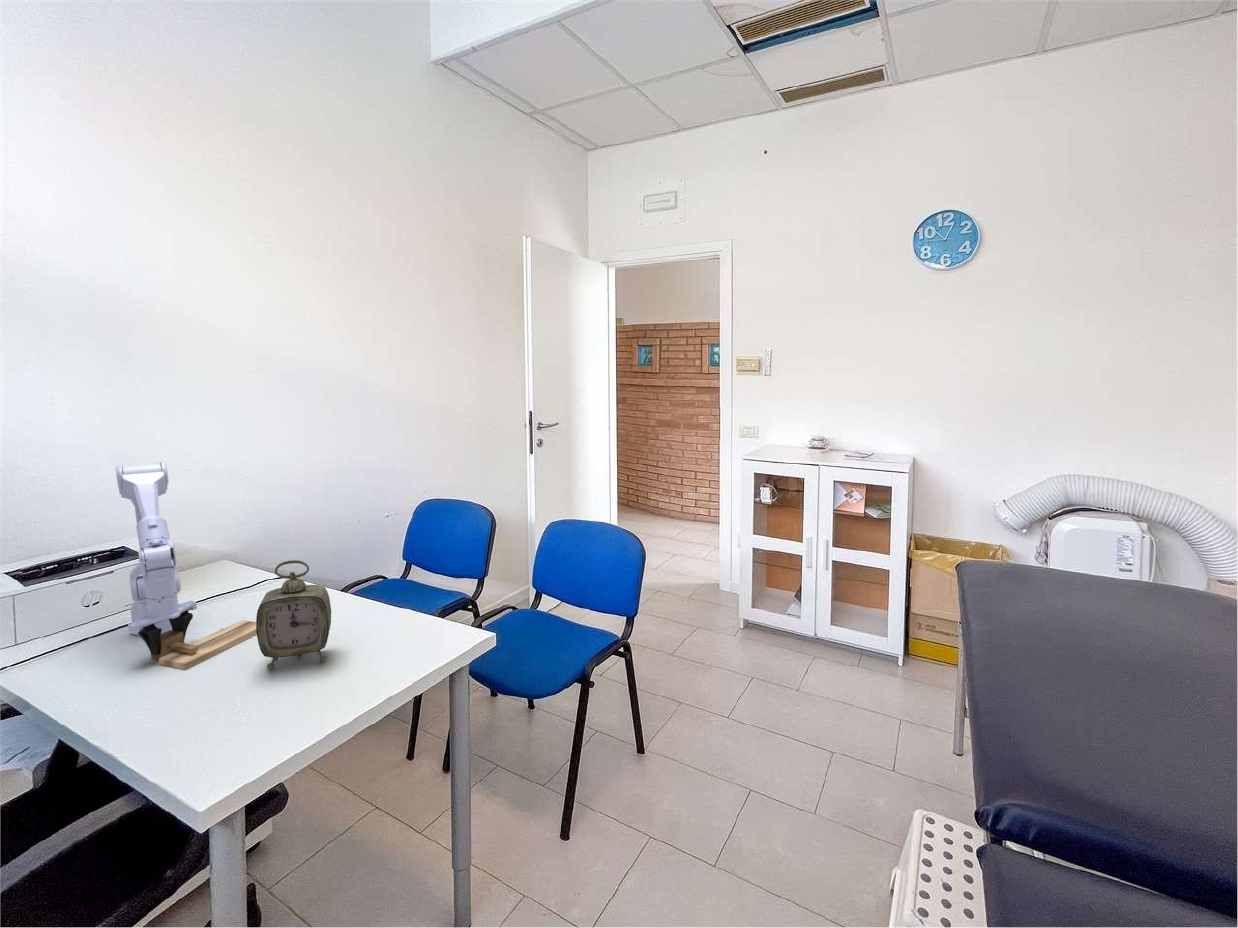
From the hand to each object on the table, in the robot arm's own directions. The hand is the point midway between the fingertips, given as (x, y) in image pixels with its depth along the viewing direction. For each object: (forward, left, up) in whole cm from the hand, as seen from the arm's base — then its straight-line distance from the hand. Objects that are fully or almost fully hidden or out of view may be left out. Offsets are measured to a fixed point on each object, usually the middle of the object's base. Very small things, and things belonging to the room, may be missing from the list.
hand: (167, 648), depth 138 cm
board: (+6, +7, -2) cm, 10 cm away
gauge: (+3, 0, -2) cm, 4 cm away
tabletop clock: (+31, +7, -2) cm, 32 cm away
